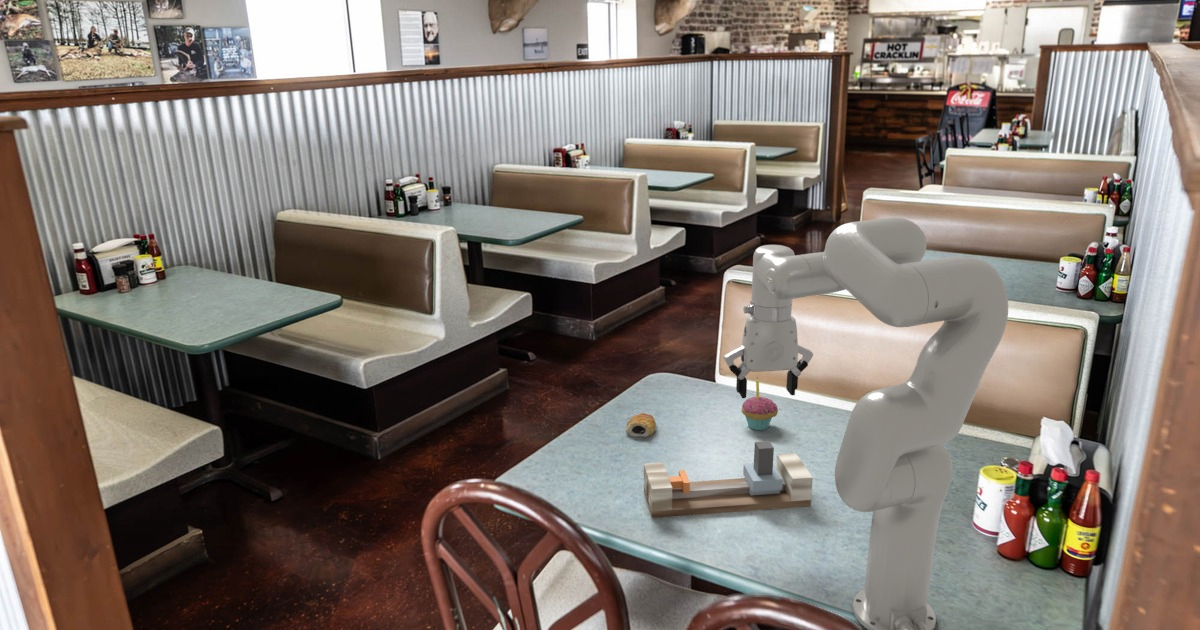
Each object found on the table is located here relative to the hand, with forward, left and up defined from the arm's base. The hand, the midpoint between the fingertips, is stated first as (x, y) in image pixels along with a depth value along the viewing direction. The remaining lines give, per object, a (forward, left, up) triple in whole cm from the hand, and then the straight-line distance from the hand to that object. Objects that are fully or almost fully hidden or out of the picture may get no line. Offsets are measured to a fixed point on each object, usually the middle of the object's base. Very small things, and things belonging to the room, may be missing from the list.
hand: (766, 394), depth 160 cm
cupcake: (+31, -9, -23) cm, 39 cm away
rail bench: (0, +7, -23) cm, 24 cm away
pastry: (+33, +20, -23) cm, 45 cm away
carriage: (0, 0, -21) cm, 21 cm away
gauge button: (0, +19, -19) cm, 27 cm away
